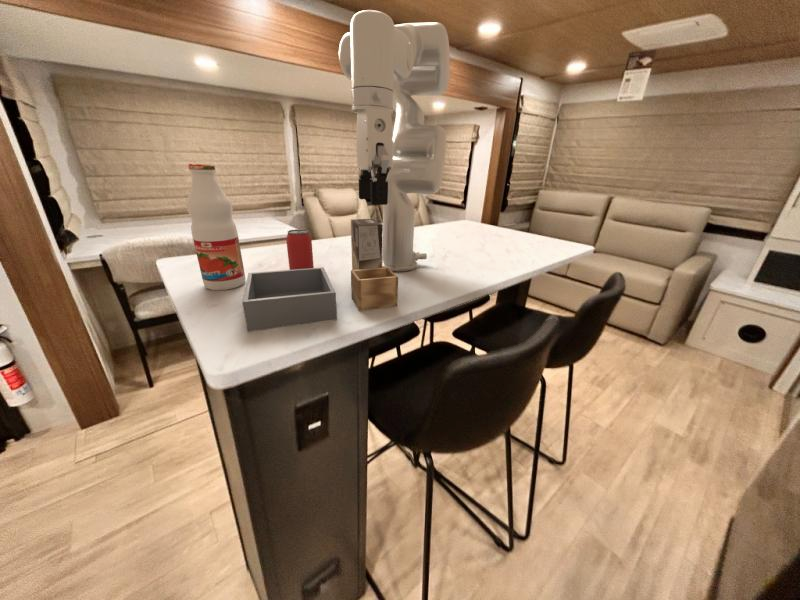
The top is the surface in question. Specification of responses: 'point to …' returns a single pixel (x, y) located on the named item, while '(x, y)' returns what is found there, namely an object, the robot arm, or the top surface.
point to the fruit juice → (214, 231)
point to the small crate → (374, 288)
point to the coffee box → (366, 244)
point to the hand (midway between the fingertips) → (372, 201)
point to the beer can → (299, 249)
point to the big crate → (288, 298)
